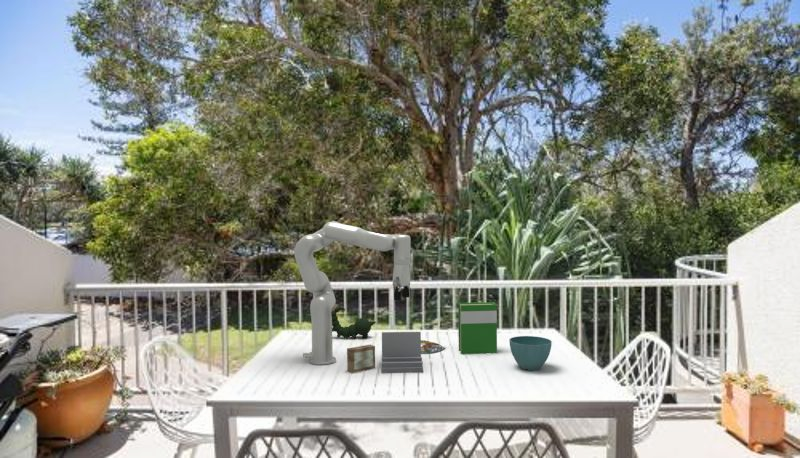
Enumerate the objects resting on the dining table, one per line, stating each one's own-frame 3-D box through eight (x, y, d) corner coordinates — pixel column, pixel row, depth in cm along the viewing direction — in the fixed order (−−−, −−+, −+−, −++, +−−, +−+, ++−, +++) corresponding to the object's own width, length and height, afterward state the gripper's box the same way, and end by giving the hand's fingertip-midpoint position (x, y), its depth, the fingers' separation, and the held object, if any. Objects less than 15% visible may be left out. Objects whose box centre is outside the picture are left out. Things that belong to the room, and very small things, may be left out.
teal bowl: (524, 360, 257) (524, 333, 257) (559, 367, 244) (559, 339, 244) (501, 367, 244) (501, 340, 244) (537, 376, 231) (537, 347, 231)
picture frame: (352, 373, 239) (352, 350, 239) (347, 371, 242) (347, 348, 242) (375, 368, 246) (375, 346, 246) (370, 366, 249) (370, 344, 249)
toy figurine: (332, 343, 301) (377, 338, 302) (328, 309, 301) (373, 304, 301) (333, 339, 311) (377, 334, 311) (330, 306, 310) (374, 301, 311)
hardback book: (461, 354, 269) (460, 305, 268) (458, 350, 276) (458, 302, 275) (497, 353, 270) (496, 304, 269) (493, 349, 277) (493, 302, 277)
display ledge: (381, 373, 238) (381, 340, 238) (382, 362, 256) (381, 332, 256) (422, 372, 239) (422, 340, 238) (420, 361, 256) (420, 331, 256)
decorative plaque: (393, 336, 301) (448, 337, 295) (393, 341, 301) (448, 342, 295) (381, 350, 272) (441, 352, 266) (381, 356, 272) (441, 357, 266)
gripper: (402, 259, 263) (402, 295, 263) (386, 262, 247) (386, 300, 247) (416, 260, 259) (416, 296, 260) (401, 263, 244) (401, 302, 244)
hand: (401, 298), depth 254 cm, fingers open, 9 cm apart
